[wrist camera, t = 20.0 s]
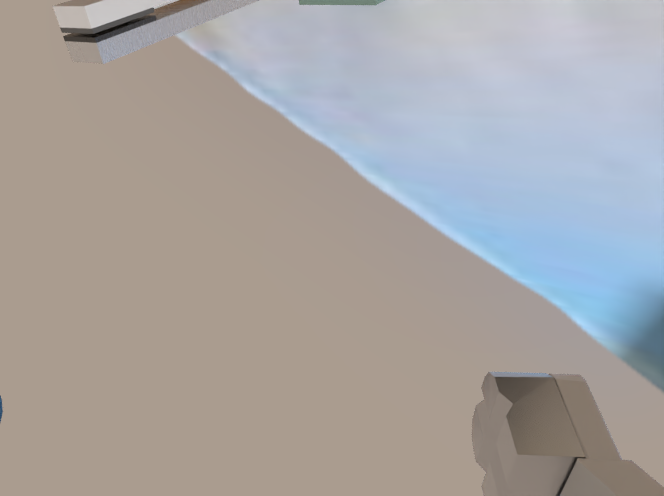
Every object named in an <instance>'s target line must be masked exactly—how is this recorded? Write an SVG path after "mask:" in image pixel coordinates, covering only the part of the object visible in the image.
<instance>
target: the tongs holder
mask: <svg viewBox="0 0 664 496" xmlns="http://www.w3.org/2000/svg"><path fill="white" fill-rule="evenodd" d="M170 1H173V0H71V1H68V2H64V3H61V4H58V5H54V6H53V9H54V12H55V14H56V17H57V20H58V23H59V26H60V28H61V31H62V32H63V33H64V32H65V33H85V34H94V33H97V32H100V31H103V30H106V29H109V28H111V27H114V26H117V25H120V24H123V23H125V22H128V21H131V20H134V19H137V18H139V17H142V16H145V15H148V14H151V13H154V12H155V11H154V8H153V7H155V6H158V5H161V4H164V3H167V2H170ZM383 1H385V0H299V5H377V4H379V3H381V2H383Z"/></svg>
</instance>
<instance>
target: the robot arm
mask: <svg viewBox="0 0 664 496" xmlns="http://www.w3.org/2000/svg"><path fill="white" fill-rule="evenodd" d="M482 392H483V395H484V400H483V401H481V402H480V403H479V404H478V405H476V408H475V412H474V416H473V421H472V442H473V449H474V454H475V459H476V462H477V463H478V464H479V465H480V466H481V467H482V468H483V469H484V470H485V471H486V474H485V477H484V480H483V483H482V490H483V494H484V496H664V487H663V486H662V485H660V484H659V483H658V482H657V481H656V480H654V479H653V478H652V477H651V476H650V475H648V474H647V473H646V472H645V471H644V470H642V469H641V468H640V467H639V466H638V465H637V464H635V463H634V462H633V461H632V460H622V458H621V456H620V454H619V452H618V450H617V447H616V445H615V443H614V441H613V439H612V437H611V435H610V432H609V430H608V428H607V426H606V424H605V421H604V419H603V417H602V415H601V413H600V411H599V409H598V406H597V404H596V402H595V400H594V398H593V395H592V393H591V391H590V389H589V387H588V385H587V383H586V380H585V379H584V378H583V377H582V376H581V375H573V374H546V373H511V372H510V373H509V372H488V374H487V375H486V376H485V378H484V381H483V384H482ZM2 412H3V410H2V399H1V396H0V421H1V417H2Z"/></svg>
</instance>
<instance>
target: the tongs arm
mask: <svg viewBox="0 0 664 496" xmlns="http://www.w3.org/2000/svg"><path fill="white" fill-rule="evenodd" d="M256 1H259V0H179V1H176V2H174V3H171V4H168V5H165V6H162V7H160V8H157V9H154V11H155V12H154V13H151V14H148V15H145V16H142V17H139V18H137V19H134V20H131V21H128V22H125V23H123V24H120V25H117V26H114V27H111V28H109V29H106V30H103V31H100V32H97V33H94V34H85V33H71V34H68V35H65V36H64V40H65V42H66V45H67V48H68V51H69V54H70V56H71V59H72V61H76V62H88V63H99V64H100V63H101V64H104V63H106V62H109V61H111V60H114V59H116V58H119V57H121V56H124V55H126V54H129V53H131V52H134V51H136V50H138V49H141V48H143V47H146V46H148V45H151V44H153V43H156V42H158V41H160V40H163V39H165V38H168V37H170V36H173V35H175V34H178V33H180V32H183V31H185V30H188V29H190V28H192V27H195V26H197V25H200V24H202V23H205V22H207V21H210V20H212V19H214V18H217V17H219V16H222V15H224V14H227V13H229V12H232V11H234V10H237V9H239V8H241V7H244V6H246V5H249V4H251V3H254V2H256Z"/></svg>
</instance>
